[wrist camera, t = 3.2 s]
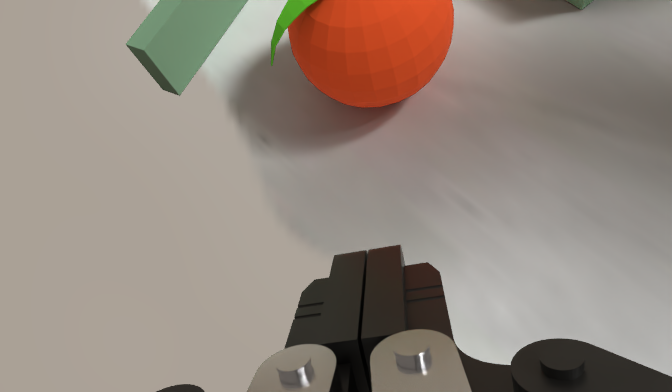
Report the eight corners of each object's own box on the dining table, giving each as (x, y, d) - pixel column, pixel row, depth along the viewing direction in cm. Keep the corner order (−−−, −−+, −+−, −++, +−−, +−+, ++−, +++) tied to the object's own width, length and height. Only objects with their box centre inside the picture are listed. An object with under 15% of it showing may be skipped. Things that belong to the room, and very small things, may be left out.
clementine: (339, 178, 23) (293, 76, 17) (269, 82, 27) (209, -32, 20) (487, 82, 24) (494, -51, 18) (400, -1, 27) (380, -137, 21)
